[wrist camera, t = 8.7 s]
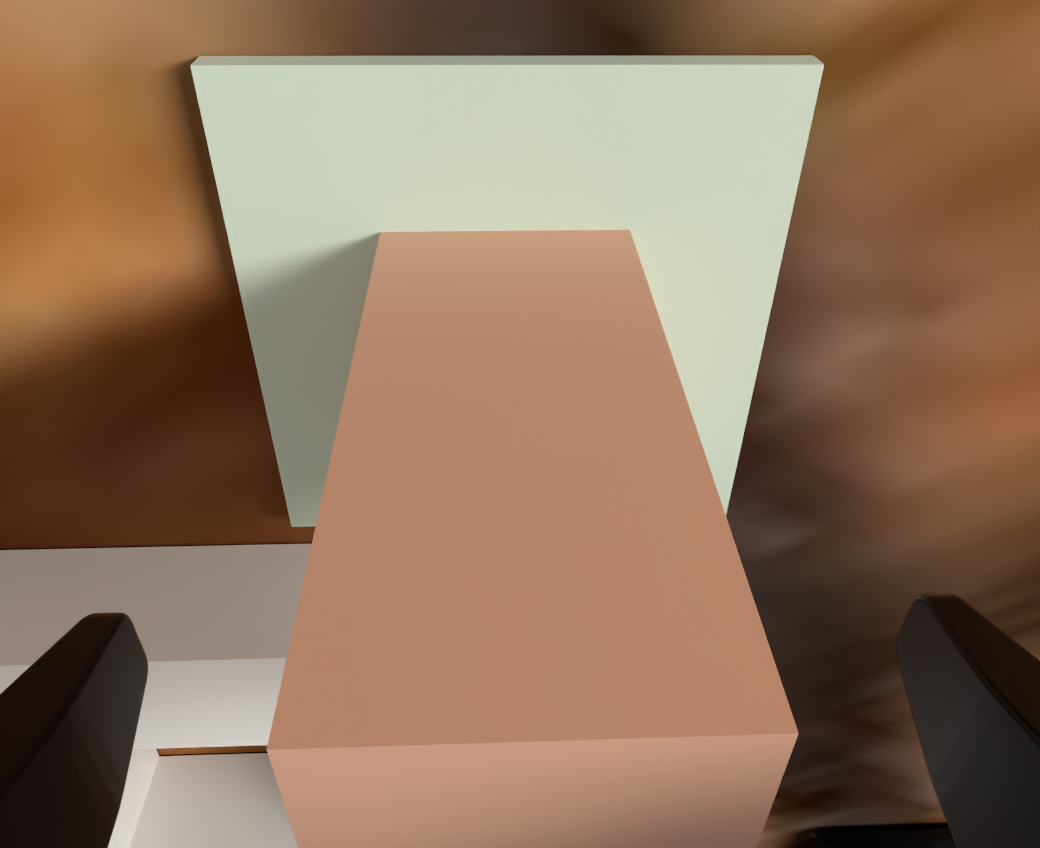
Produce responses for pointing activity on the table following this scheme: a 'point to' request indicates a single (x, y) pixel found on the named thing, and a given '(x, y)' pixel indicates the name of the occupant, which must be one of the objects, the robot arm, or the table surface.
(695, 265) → the pad
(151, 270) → the table surface
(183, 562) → the white square frame
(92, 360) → the table surface
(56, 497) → the table surface
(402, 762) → the plug
